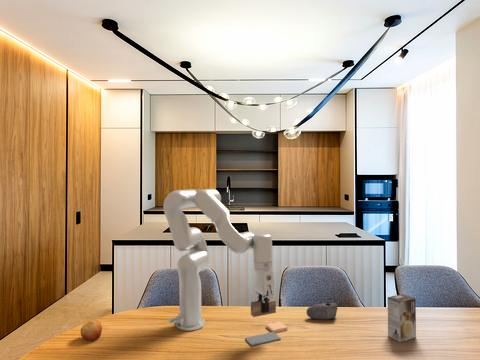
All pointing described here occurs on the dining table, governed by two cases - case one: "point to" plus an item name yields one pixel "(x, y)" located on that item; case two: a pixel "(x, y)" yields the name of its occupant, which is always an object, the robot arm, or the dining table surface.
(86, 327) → the fruit
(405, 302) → the coffee box
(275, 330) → the tile
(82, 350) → the dining table surface
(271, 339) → the mat
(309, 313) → the perforated stone tool
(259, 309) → the brown rectangular pillar
